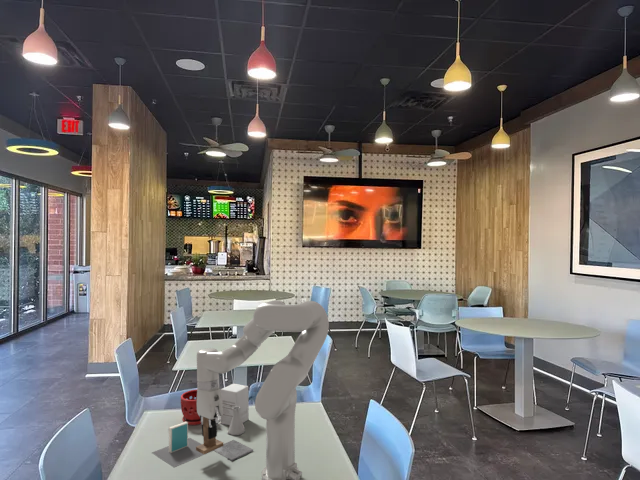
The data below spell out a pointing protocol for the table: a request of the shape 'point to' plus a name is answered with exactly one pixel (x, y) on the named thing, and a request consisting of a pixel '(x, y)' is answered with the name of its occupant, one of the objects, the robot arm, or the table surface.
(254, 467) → the table surface
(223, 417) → the supplement box
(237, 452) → the plate
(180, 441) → the tile
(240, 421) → the flask
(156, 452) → the mat
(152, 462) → the table surface
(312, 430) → the table surface
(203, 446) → the wooden post stand
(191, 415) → the plant pot
